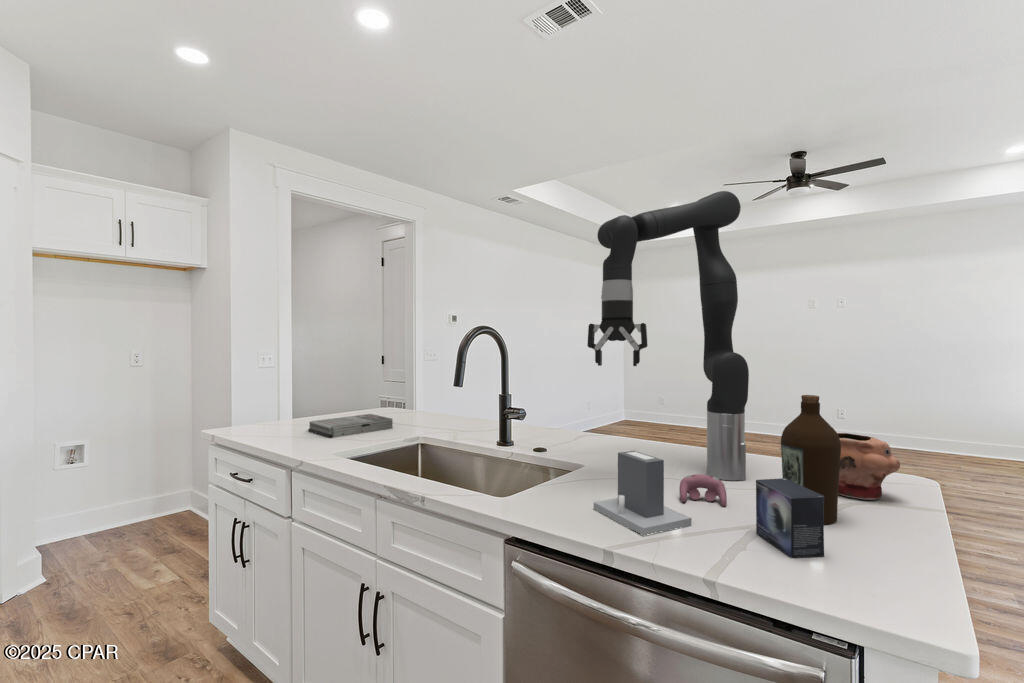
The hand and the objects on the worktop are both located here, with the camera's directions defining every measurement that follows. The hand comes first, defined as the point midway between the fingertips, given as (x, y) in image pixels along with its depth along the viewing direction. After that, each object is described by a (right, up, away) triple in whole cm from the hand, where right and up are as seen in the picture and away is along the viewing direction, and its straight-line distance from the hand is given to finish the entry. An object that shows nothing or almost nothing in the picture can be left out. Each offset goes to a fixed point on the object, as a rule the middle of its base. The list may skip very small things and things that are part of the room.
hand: (617, 365), depth 119 cm
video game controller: (+17, -31, -10) cm, 36 cm away
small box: (+23, -31, -32) cm, 50 cm away
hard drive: (-90, -30, +76) cm, 121 cm away
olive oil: (+36, -30, -19) cm, 51 cm away
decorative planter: (+54, -30, -4) cm, 62 cm away
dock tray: (+1, -30, -19) cm, 36 cm away
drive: (+1, -29, -19) cm, 34 cm away
